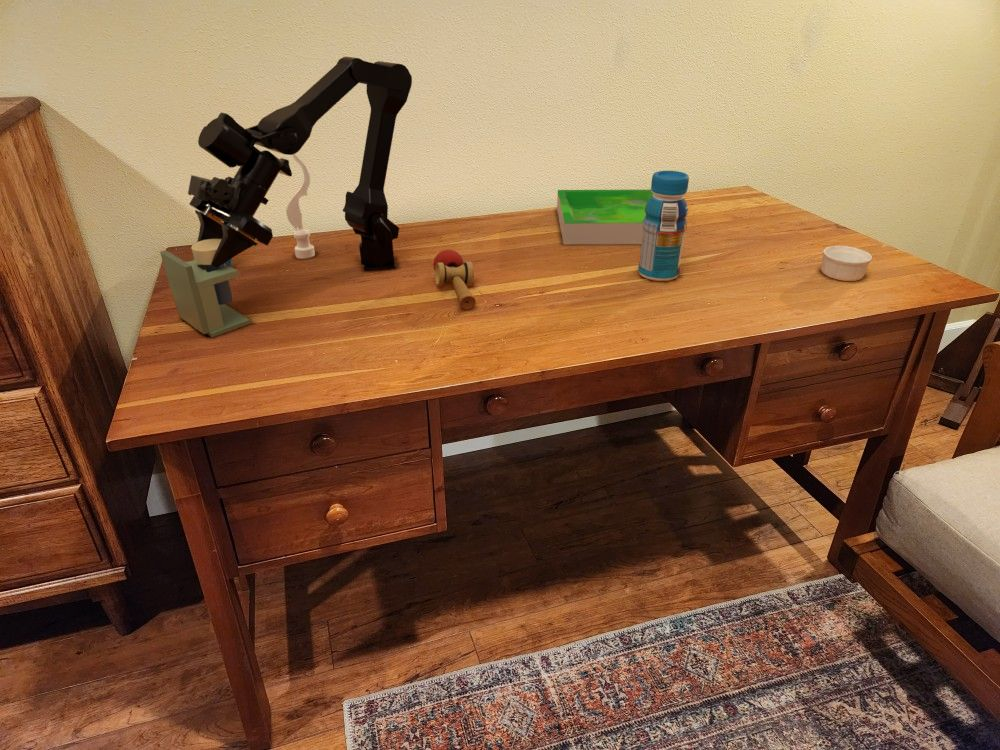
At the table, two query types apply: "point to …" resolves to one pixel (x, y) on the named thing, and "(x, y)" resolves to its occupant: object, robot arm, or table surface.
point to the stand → (201, 296)
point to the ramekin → (845, 263)
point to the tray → (602, 216)
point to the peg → (212, 267)
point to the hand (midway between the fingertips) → (205, 261)
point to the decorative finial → (300, 217)
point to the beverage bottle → (664, 226)
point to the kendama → (455, 275)
